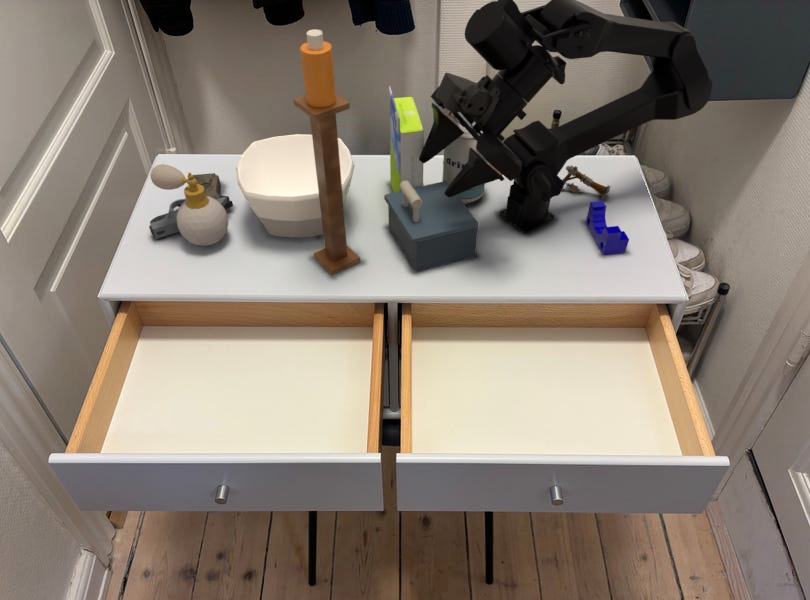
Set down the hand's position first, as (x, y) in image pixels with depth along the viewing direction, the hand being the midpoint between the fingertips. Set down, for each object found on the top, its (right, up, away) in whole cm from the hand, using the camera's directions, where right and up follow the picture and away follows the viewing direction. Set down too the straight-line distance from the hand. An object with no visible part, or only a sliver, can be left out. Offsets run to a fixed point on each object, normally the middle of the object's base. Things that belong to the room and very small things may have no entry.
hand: (433, 178), depth 94 cm
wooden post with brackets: (+26, +2, +17) cm, 31 cm away
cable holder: (+27, -7, +9) cm, 29 cm away
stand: (-14, -11, +6) cm, 19 cm away
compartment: (0, -7, +8) cm, 11 cm away
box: (-4, 0, +16) cm, 16 cm away
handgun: (-42, +4, +17) cm, 46 cm away
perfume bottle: (-36, -7, +9) cm, 37 cm away
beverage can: (+6, +2, +17) cm, 18 cm away
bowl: (-20, -3, +13) cm, 24 cm away
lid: (0, -4, +4) cm, 6 cm away
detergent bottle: (-14, +6, -13) cm, 20 cm away
